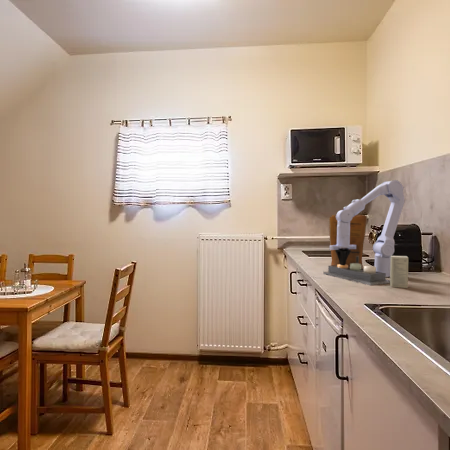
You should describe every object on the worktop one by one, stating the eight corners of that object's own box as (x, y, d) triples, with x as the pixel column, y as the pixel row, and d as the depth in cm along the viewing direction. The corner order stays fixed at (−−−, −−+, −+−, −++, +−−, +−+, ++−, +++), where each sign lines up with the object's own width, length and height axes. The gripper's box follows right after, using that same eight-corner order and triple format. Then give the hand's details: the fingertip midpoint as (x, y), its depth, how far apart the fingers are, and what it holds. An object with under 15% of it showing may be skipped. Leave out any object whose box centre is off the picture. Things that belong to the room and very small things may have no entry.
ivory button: (369, 273, 159) (369, 265, 159) (378, 275, 155) (378, 267, 155) (361, 273, 157) (361, 265, 157) (369, 275, 153) (370, 267, 153)
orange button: (342, 271, 174) (342, 264, 173) (350, 272, 169) (350, 265, 169) (334, 271, 172) (334, 264, 171) (342, 273, 167) (342, 266, 167)
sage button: (355, 270, 166) (355, 262, 166) (363, 271, 162) (363, 264, 162) (347, 270, 164) (347, 263, 164) (355, 272, 160) (355, 264, 160)
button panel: (342, 272, 178) (342, 264, 178) (391, 283, 153) (391, 273, 153) (323, 273, 173) (323, 265, 173) (370, 285, 148) (370, 275, 148)
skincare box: (406, 286, 147) (407, 256, 147) (408, 288, 143) (409, 257, 143) (389, 284, 149) (390, 255, 149) (390, 287, 145) (391, 256, 145)
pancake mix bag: (365, 269, 190) (366, 214, 189) (327, 266, 197) (328, 214, 196) (365, 267, 196) (367, 214, 195) (329, 264, 204) (330, 214, 202)
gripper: (348, 235, 176) (347, 263, 177) (325, 235, 170) (324, 264, 171) (360, 236, 170) (359, 265, 171) (335, 236, 164) (335, 266, 164)
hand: (342, 265), depth 170 cm, fingers closed, pressing on orange button
